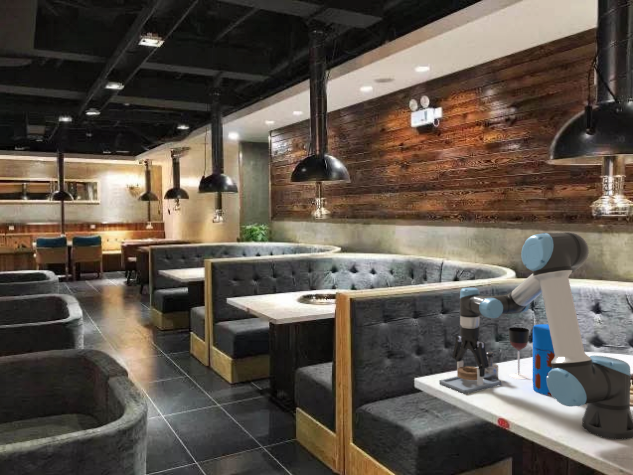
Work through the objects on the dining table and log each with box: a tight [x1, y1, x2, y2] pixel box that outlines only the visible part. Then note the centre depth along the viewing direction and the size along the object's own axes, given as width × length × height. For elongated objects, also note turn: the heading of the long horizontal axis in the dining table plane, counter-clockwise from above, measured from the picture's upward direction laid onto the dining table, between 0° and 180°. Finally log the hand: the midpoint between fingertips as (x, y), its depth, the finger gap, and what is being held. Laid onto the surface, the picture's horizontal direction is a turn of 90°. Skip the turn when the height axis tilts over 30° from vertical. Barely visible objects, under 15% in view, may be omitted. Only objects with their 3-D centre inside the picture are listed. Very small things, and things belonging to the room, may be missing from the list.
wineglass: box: [508, 326, 530, 380], centre depth 221 cm, size 8×9×20 cm
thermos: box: [532, 323, 555, 396], centre depth 203 cm, size 11×11×25 cm
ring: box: [458, 365, 478, 380], centre depth 213 cm, size 10×10×2 cm
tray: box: [438, 375, 502, 395], centre depth 213 cm, size 14×20×2 cm
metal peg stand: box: [483, 351, 500, 381], centre depth 218 cm, size 7×7×11 cm
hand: (470, 380), depth 213 cm, fingers closed on ring, 10 cm apart
